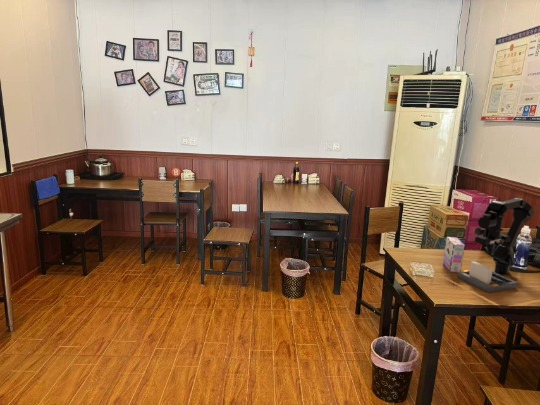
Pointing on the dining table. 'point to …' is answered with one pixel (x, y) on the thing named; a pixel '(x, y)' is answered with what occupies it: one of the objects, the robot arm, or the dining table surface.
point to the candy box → (453, 254)
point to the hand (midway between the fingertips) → (489, 254)
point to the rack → (495, 285)
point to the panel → (481, 272)
